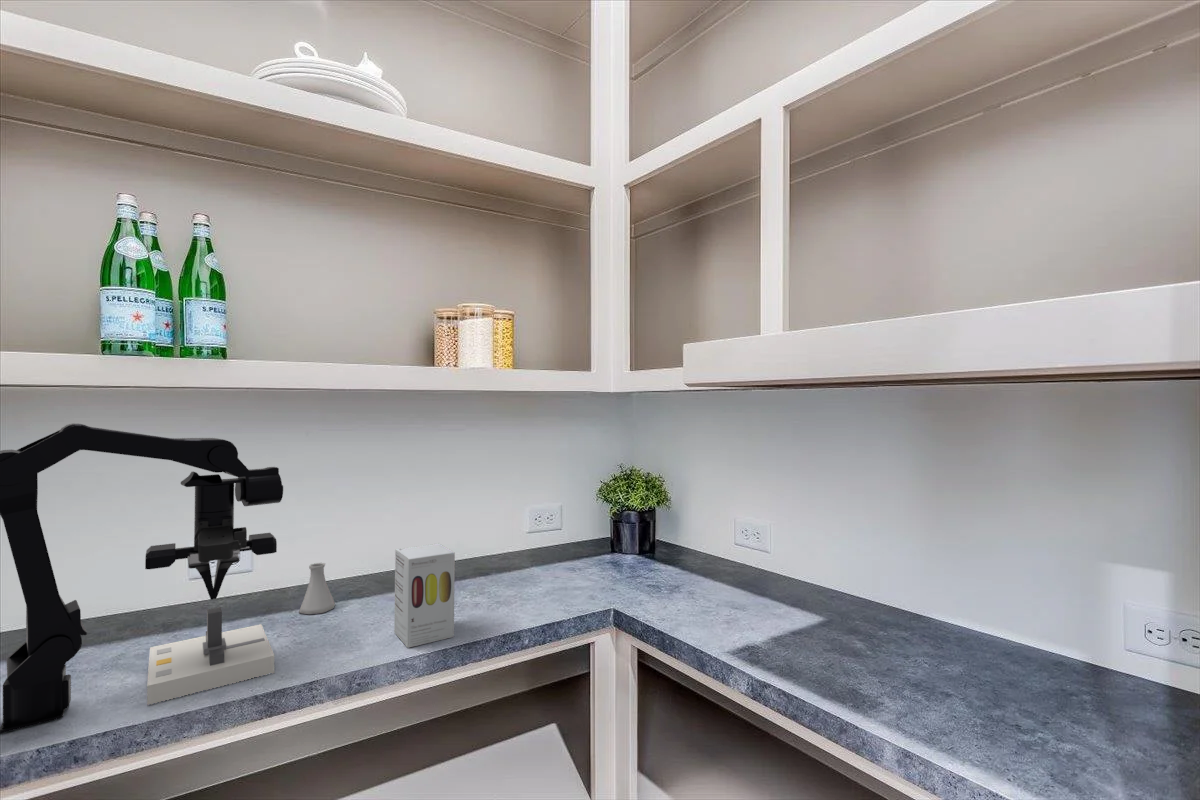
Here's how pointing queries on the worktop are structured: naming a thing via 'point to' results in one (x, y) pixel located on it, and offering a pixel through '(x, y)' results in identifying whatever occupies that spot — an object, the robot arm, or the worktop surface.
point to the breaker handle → (214, 631)
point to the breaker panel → (207, 663)
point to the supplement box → (424, 594)
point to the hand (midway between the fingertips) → (213, 598)
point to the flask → (317, 592)
